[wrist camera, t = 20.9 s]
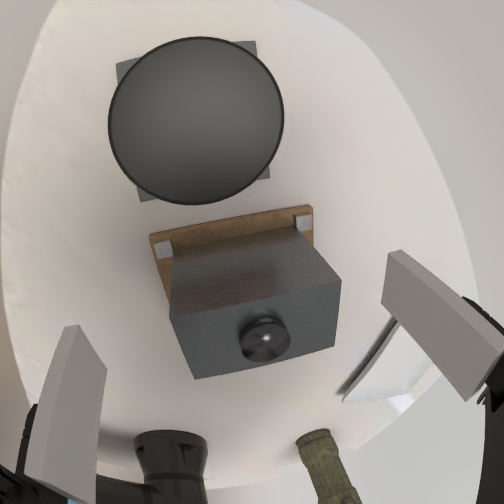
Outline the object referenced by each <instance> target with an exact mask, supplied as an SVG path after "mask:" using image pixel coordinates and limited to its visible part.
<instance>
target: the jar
mask: <svg viewBox="0 0 504 504" xmlns="http://www.w3.org/2000/svg"><path fill="white" fill-rule="evenodd" d="M283 128H284V105H283V100H282V96H281V93H280V90H279V87H278V85H277V83H276V81H275V79H274V77H273V75H272V74H271V72H270V71H269V69H268V68H267V67H266V66H265V65H264V63H263V62H262V61H261V60H259V59H258V58H257V57H256V56H255V55H254V54H252V53H251V52H250V51H248V50H246V49H245V48H243V47H241V46H239V45H237V44H235V43H232V42H230V41H227V40H223V39H219V38H214V37H202V36H198V37H187V38H181V39H177V40H173V41H170V42H167V43H164V44H162V45H160V46H158V47H156V48H154V49H153V50H151V51H149V52H148V53H146V54H145V55H144V56H142V57H141V58H140V59H139V60H137V61H136V62H135V63H134V64H133V65H132V66H131V67H130V68H129V70H128V71H127V72H126V73H125V75H124V76H123V78H122V79H121V81H120V82H119V84H118V86H117V88H116V90H115V92H114V95H113V98H112V100H111V104H110V108H109V114H108V136H109V141H110V145H111V149H112V152H113V154H114V157H115V159H116V161H117V163H118V165H119V166H120V168H121V169H122V171H123V172H124V174H125V175H126V176H127V177H128V178H129V179H130V180H131V181H132V182H133V183H134V184H135V185H136V186H137V187H139V188H140V189H141V190H143V191H144V192H146V193H147V194H149V195H151V196H153V197H155V198H158V199H160V200H163V201H166V202H169V203H174V204H180V205H204V204H210V203H214V202H218V201H221V200H224V199H227V198H229V197H231V196H233V195H236V194H237V193H239V192H241V191H242V190H244V189H245V188H247V187H248V186H250V185H251V184H252V183H253V182H254V181H256V180H257V179H258V178H259V177H260V176H261V175H262V173H263V172H264V171H265V170H266V169H267V167H268V166H269V164H270V163H271V161H272V160H273V158H274V156H275V154H276V152H277V150H278V147H279V145H280V142H281V138H282V134H283Z"/></svg>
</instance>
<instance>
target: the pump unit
mask: <svg viewBox="0 0 504 504" xmlns="http://www.w3.org/2000/svg"><path fill="white" fill-rule="evenodd" d="M149 240H150V244H151V247H152V250H153V254H154V257H155V260H156V264H157V267H158V270H159V273H160V276H161V280H162V283H163V286H164V289H165V292H166V295H167V298H168V301H169V304H170V312H169V318H170V321H171V323H172V326H173V329H174V331H175V334H176V336H177V339H178V341H179V344H180V346H181V349H182V351H183V354H184V356H185V358H186V361H187V363H188V365H189V368H190V370H191V372H192V375H193V377H194V379H201V378H206V377H212V376H217V375H223V374H228V373H233V372H237V371H242V370H247V369H251V368H256V367H260V366H264V365H268V364H272V363H276V362H280V361H284V360H288V359H292V358H295V357H299V356H303V355H306V354H310V353H313V352H316V351H320V350H323V349H326V348H330V347H333V346H334V344H335V337H336V329H337V321H338V312H339V302H340V292H341V281H342V280H341V279H340V277H339V276H338V275H337V274H336V273H335V271H334V270H333V269H332V268H331V267H330V265H329V264H328V263H327V262H326V261H325V260H324V258H323V257H322V256H321V255H320V254H319V253H318V251H317V250H316V249H315V248H314V247H313V208H312V207H311V206H310V205H304V206H298V207H292V208H285V209H279V210H274V211H268V212H262V213H256V214H251V215H245V216H239V217H234V218H229V219H223V220H218V221H213V222H207V223H202V224H197V225H192V226H187V227H182V228H177V229H172V230H167V231H163V232H158V233H153V234H150V237H149Z"/></svg>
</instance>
